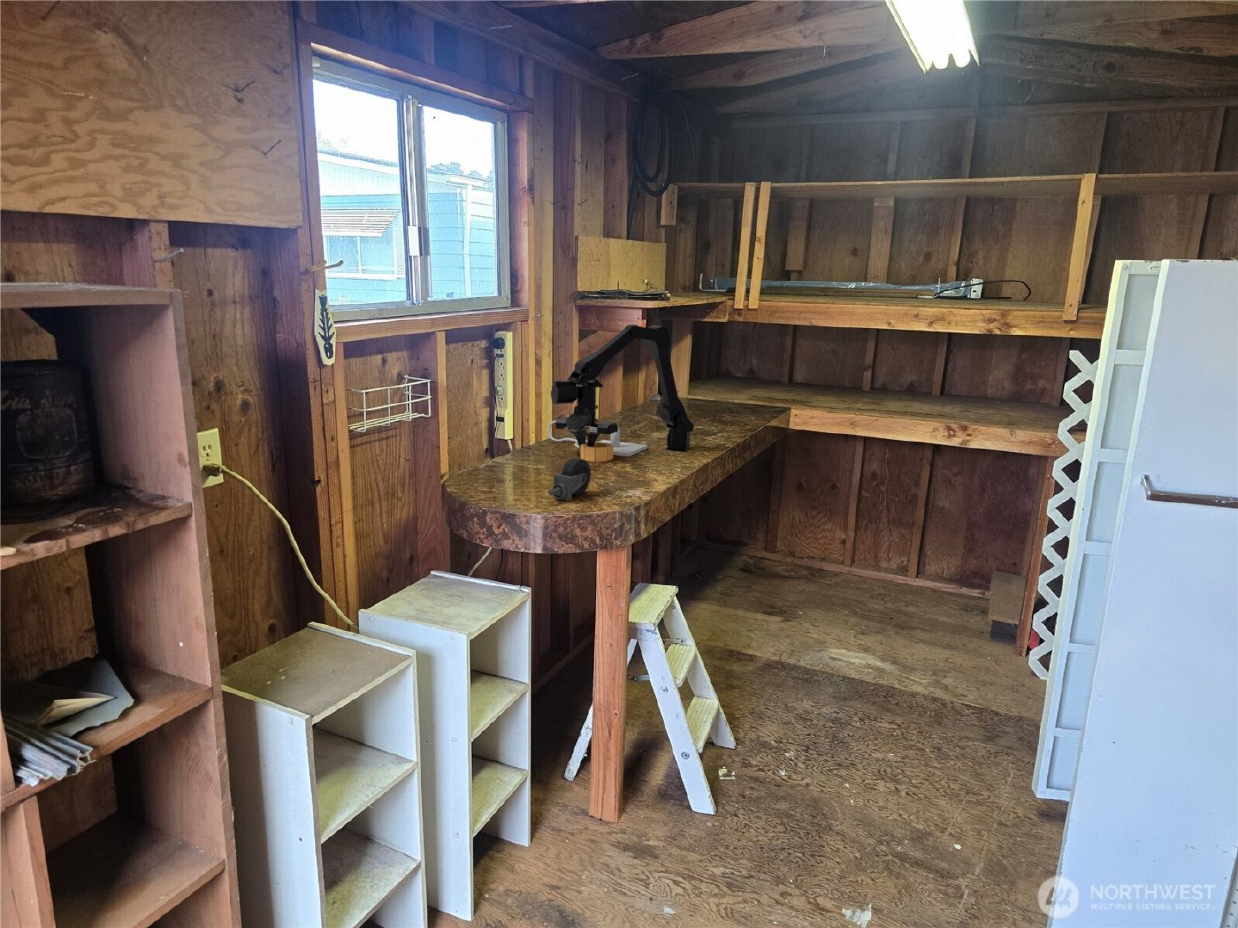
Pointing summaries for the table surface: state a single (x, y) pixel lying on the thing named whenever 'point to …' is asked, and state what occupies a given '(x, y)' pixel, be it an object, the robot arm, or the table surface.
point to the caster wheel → (571, 479)
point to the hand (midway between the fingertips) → (585, 453)
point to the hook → (563, 438)
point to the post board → (623, 446)
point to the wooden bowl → (597, 452)
